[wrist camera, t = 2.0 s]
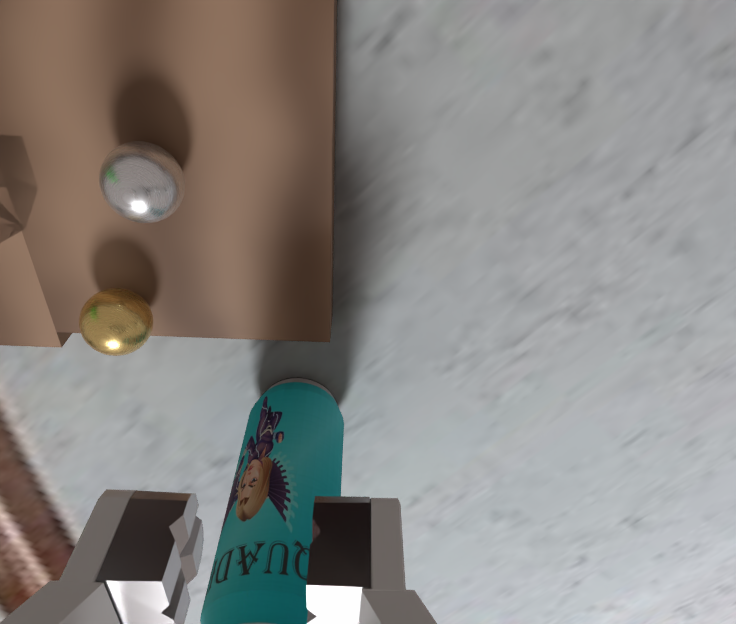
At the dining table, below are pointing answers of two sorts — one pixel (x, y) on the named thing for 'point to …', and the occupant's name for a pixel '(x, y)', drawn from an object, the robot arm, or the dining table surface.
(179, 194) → the steel ball
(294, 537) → the beverage can
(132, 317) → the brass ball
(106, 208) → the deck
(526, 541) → the dining table surface
